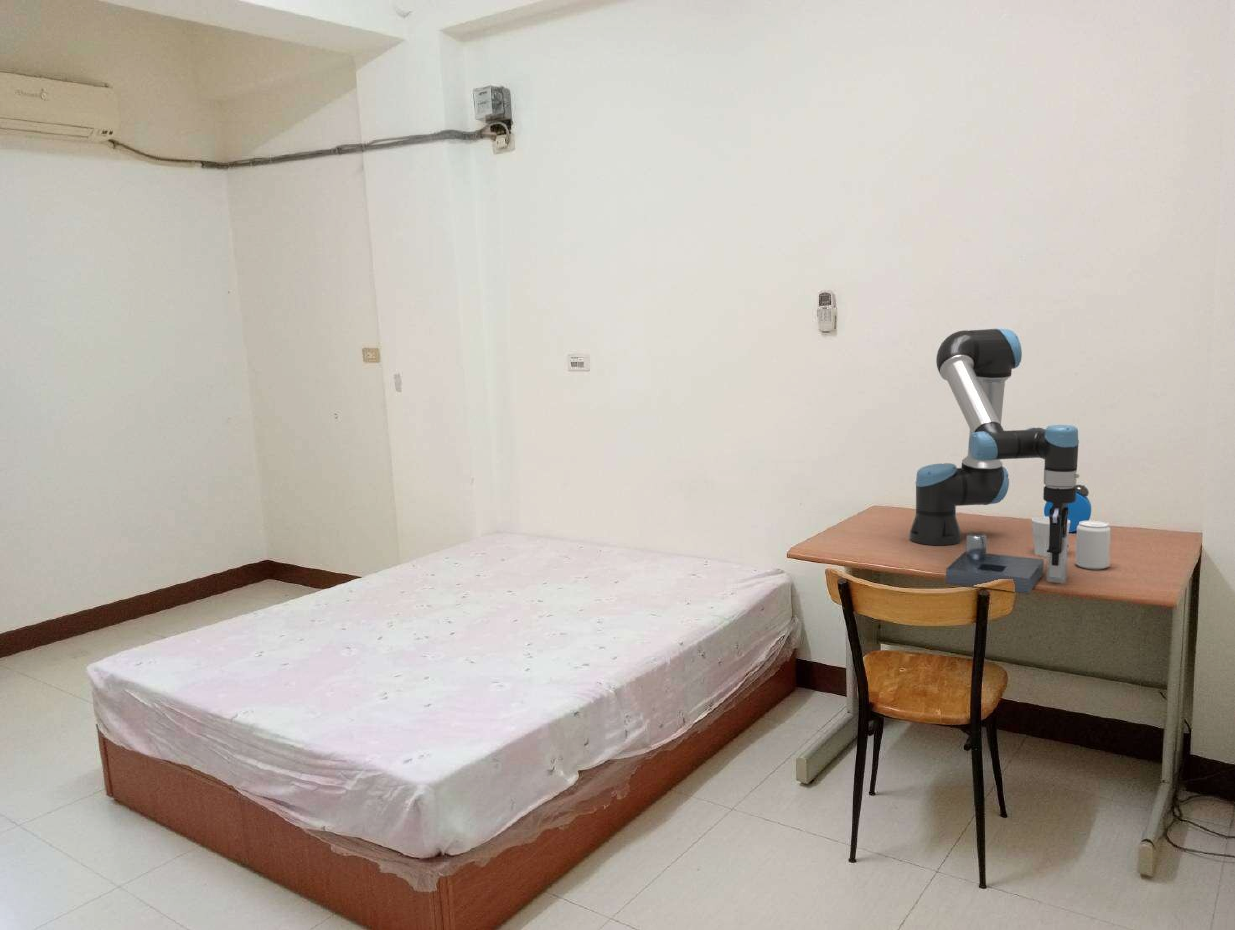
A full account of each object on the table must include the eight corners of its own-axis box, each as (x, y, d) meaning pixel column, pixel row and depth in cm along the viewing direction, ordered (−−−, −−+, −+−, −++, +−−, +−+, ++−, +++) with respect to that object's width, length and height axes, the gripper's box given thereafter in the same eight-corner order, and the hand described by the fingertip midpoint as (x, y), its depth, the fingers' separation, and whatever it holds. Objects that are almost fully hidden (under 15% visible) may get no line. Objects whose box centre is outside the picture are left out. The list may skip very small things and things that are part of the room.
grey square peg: (1046, 581, 234) (1048, 536, 232) (1049, 577, 237) (1051, 533, 235) (1063, 583, 232) (1065, 538, 230) (1066, 579, 235) (1068, 534, 233)
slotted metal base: (945, 583, 236) (946, 546, 234) (965, 565, 252) (965, 530, 251) (1028, 594, 225) (1029, 555, 223) (1043, 573, 241) (1044, 537, 239)
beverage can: (1069, 563, 250) (1070, 521, 248) (1097, 561, 250) (1099, 519, 248) (1086, 571, 242) (1088, 527, 240) (1115, 569, 242) (1117, 525, 240)
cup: (1022, 552, 263) (1023, 519, 261) (1047, 547, 266) (1049, 515, 265) (1051, 560, 253) (1052, 525, 252) (1077, 555, 257) (1078, 521, 256)
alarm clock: (1090, 530, 285) (1092, 483, 282) (1089, 534, 279) (1091, 487, 277) (1044, 527, 291) (1046, 481, 289) (1043, 531, 286) (1044, 484, 283)
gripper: (1071, 493, 222) (1067, 585, 225) (1081, 481, 235) (1077, 568, 239) (1037, 490, 226) (1034, 581, 230) (1049, 479, 240) (1046, 564, 243)
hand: (1056, 574), depth 234 cm, fingers closed on grey square peg, 4 cm apart
